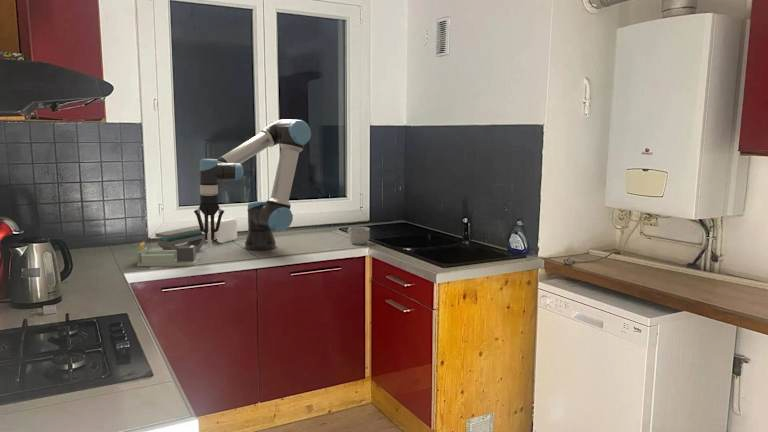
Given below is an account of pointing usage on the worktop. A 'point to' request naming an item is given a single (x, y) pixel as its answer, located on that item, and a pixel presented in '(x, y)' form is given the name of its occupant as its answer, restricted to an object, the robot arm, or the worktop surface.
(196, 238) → the sharpening stone
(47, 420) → the worktop surface
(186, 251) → the plug
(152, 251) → the header
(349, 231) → the teacup
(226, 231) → the cable organizer
